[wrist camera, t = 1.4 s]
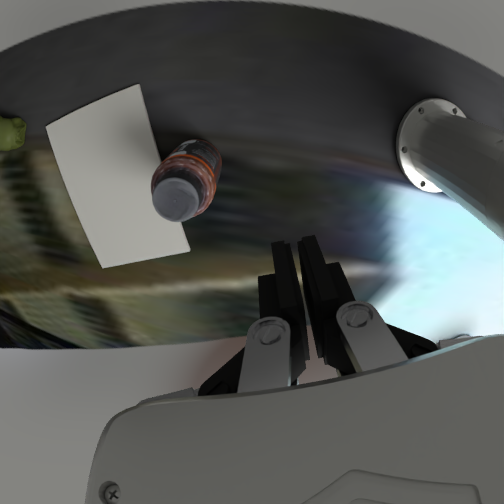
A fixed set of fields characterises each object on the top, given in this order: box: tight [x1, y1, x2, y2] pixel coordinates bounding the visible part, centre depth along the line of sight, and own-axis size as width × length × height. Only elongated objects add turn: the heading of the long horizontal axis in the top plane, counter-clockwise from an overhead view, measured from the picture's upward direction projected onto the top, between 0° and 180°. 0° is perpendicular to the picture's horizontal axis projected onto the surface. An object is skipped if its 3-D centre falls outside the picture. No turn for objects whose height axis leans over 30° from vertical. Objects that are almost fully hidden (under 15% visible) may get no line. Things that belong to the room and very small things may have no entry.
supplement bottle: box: [151, 139, 222, 222], centre depth 28 cm, size 6×6×11 cm
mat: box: [46, 84, 190, 268], centre depth 34 cm, size 14×22×1 cm, turn 11°
